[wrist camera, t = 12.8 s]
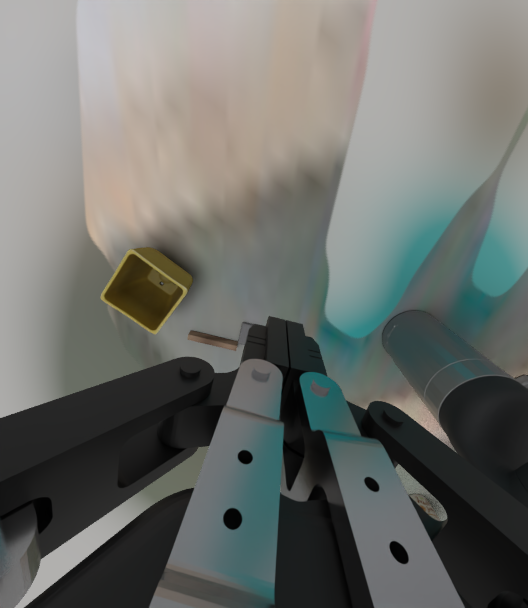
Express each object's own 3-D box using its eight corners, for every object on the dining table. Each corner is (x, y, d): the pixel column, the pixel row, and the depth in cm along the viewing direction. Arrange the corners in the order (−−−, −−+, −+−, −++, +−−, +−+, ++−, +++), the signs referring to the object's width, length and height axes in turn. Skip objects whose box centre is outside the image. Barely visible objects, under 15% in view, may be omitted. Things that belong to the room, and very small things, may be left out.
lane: (308, 358, 48) (312, 375, 44) (293, 401, 52) (294, 421, 47) (190, 330, 47) (181, 344, 42) (183, 376, 51) (174, 393, 46)
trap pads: (272, 331, 46) (271, 332, 46) (215, 405, 53) (214, 407, 52) (246, 315, 46) (246, 317, 45) (192, 393, 52) (191, 395, 52)
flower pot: (205, 272, 43) (188, 291, 35) (176, 311, 46) (154, 336, 37) (159, 237, 41) (129, 247, 33) (131, 279, 44) (98, 298, 36)
